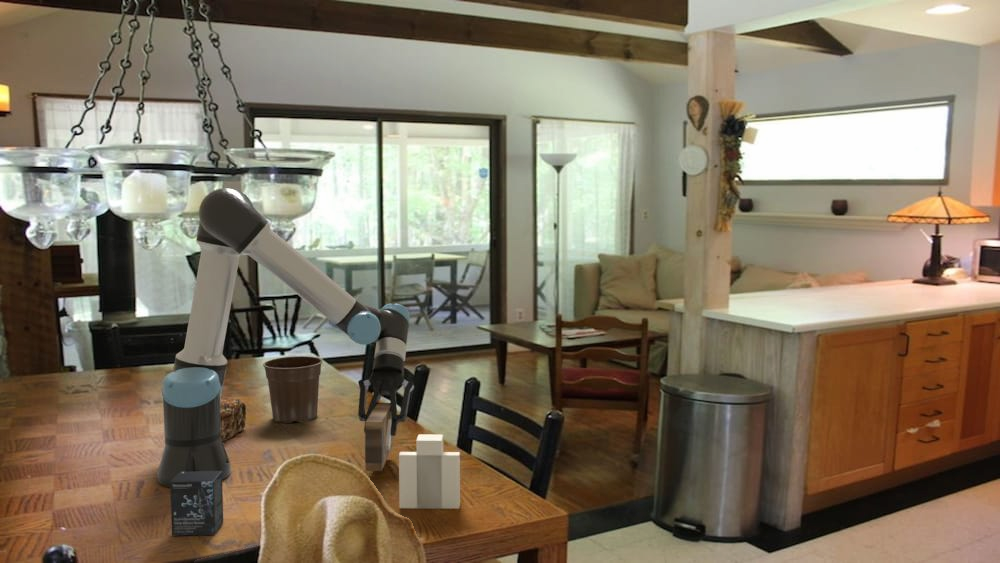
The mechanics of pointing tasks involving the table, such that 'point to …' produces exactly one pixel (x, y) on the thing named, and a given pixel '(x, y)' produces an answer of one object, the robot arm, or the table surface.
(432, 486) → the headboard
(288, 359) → the plant pot
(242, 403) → the bread
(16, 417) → the table surface
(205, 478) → the box
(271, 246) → the robot arm
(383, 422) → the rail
